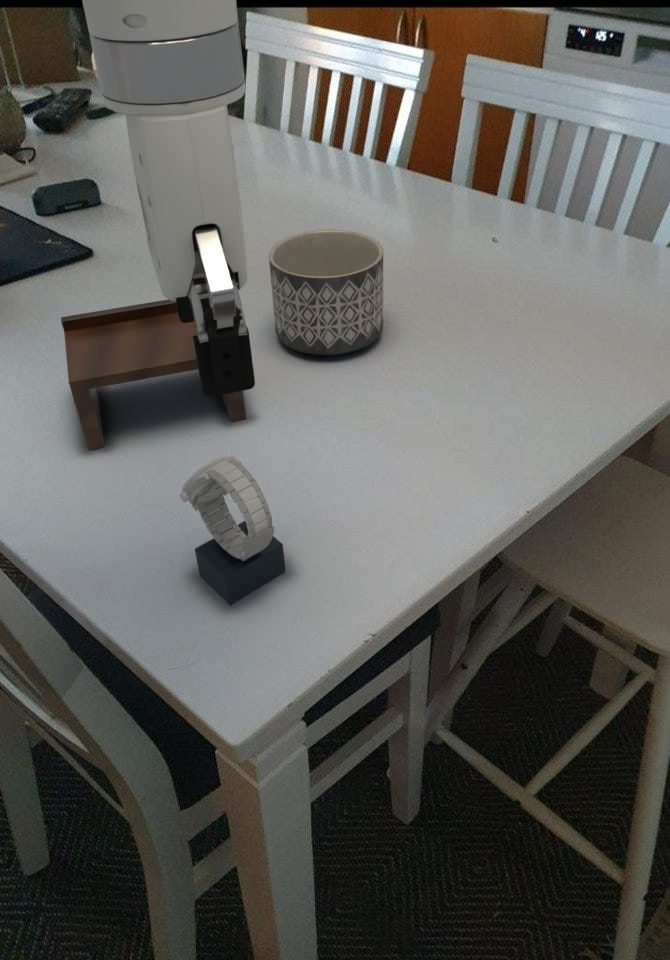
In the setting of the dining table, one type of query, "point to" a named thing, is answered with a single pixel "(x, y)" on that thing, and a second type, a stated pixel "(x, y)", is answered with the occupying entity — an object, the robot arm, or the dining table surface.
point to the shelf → (128, 356)
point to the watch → (233, 530)
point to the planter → (327, 291)
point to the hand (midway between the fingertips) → (215, 351)
